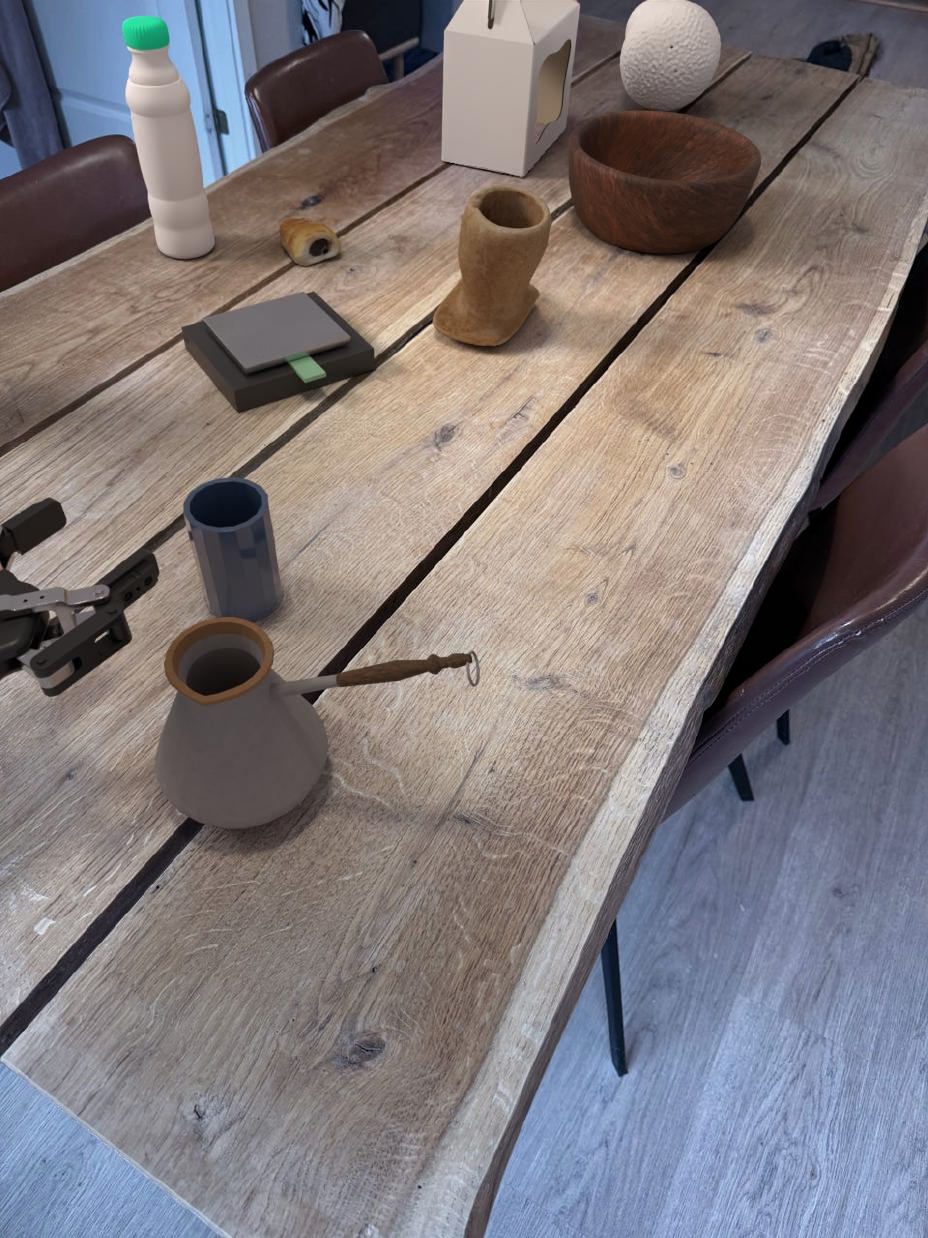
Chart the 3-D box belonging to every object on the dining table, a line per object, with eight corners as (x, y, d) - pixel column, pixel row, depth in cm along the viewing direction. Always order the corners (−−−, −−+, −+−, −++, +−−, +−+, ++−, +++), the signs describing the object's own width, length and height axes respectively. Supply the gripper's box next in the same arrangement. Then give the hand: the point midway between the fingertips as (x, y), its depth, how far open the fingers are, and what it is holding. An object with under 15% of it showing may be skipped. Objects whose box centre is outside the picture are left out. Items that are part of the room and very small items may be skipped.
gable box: (490, 114, 151) (503, -97, 130) (566, 128, 148) (591, -86, 127) (440, 162, 136) (445, -67, 116) (523, 179, 134) (543, -53, 113)
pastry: (267, 239, 118) (263, 209, 115) (314, 228, 120) (311, 199, 117) (299, 269, 112) (296, 239, 110) (347, 257, 115) (346, 228, 112)
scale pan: (245, 374, 91) (244, 367, 91) (203, 324, 97) (201, 317, 97) (350, 343, 96) (350, 336, 95) (304, 297, 102) (303, 290, 101)
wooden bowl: (648, 283, 114) (664, 200, 106) (523, 209, 127) (530, 130, 119) (779, 236, 124) (803, 157, 116) (652, 171, 137) (665, 97, 130)
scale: (246, 423, 91) (241, 398, 89) (185, 348, 100) (180, 324, 97) (384, 378, 97) (383, 354, 95) (316, 311, 106) (314, 288, 104)
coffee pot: (140, 838, 60) (78, 701, 49) (191, 700, 67) (147, 554, 56) (462, 871, 59) (473, 739, 48) (476, 727, 67) (488, 586, 56)
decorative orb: (658, 135, 147) (679, 22, 135) (578, 103, 156) (592, -6, 144) (731, 109, 157) (757, 1, 145) (652, 81, 165) (671, -24, 153)
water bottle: (223, 254, 114) (186, 25, 96) (168, 265, 112) (119, 32, 93) (204, 231, 118) (165, 7, 100) (151, 241, 116) (101, 13, 97)
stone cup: (517, 365, 100) (530, 231, 89) (419, 339, 103) (420, 205, 92) (562, 304, 109) (579, 175, 98) (472, 281, 112) (478, 154, 101)
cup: (224, 634, 72) (202, 542, 65) (194, 587, 75) (170, 494, 68) (295, 605, 74) (282, 513, 67) (263, 560, 78) (247, 467, 70)
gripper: (-71, 719, 43) (175, 533, 53) (-242, 597, 48) (12, 447, 58) (-16, 802, 49) (198, 620, 58) (-174, 685, 54) (47, 535, 63)
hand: (105, 534), depth 58 cm, fingers open, 8 cm apart
